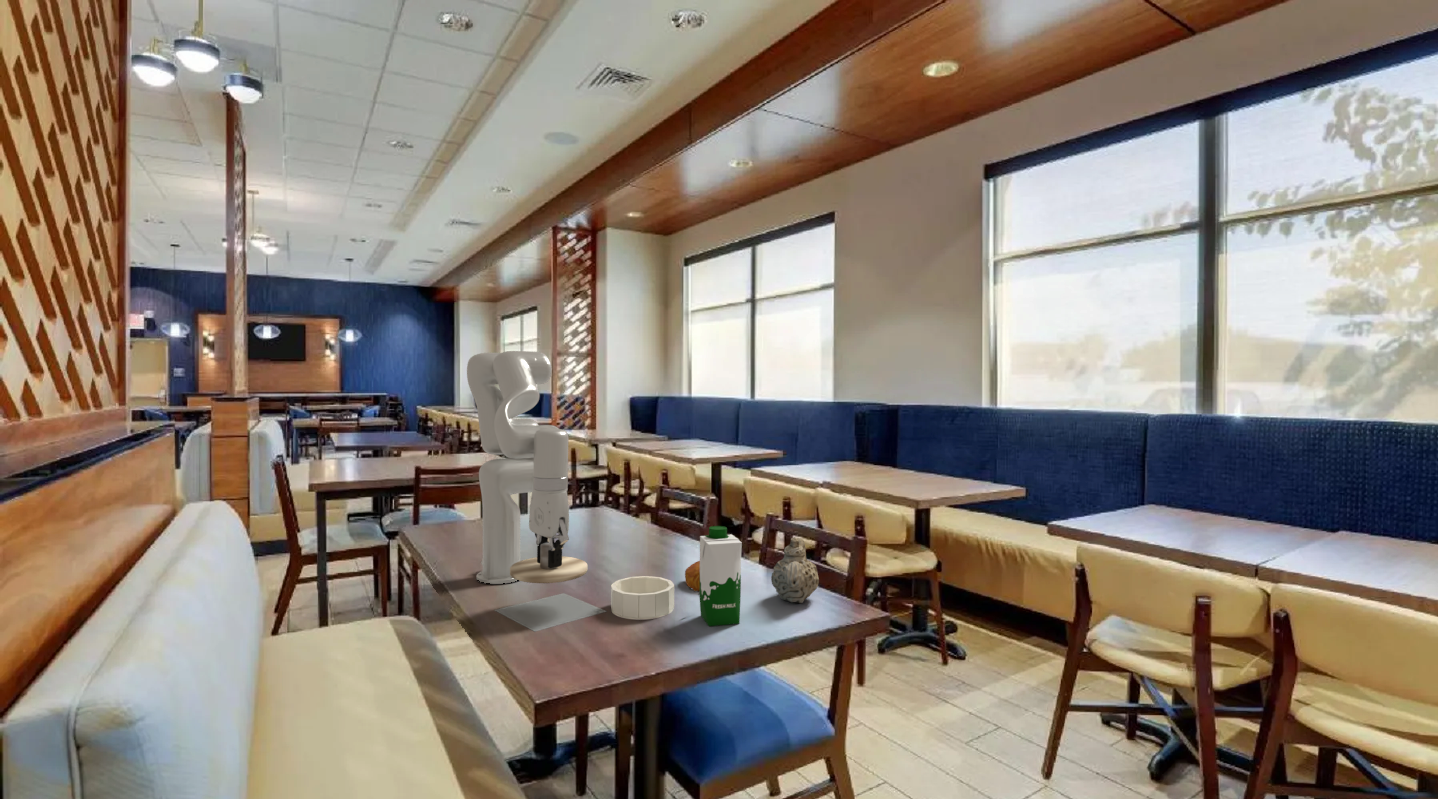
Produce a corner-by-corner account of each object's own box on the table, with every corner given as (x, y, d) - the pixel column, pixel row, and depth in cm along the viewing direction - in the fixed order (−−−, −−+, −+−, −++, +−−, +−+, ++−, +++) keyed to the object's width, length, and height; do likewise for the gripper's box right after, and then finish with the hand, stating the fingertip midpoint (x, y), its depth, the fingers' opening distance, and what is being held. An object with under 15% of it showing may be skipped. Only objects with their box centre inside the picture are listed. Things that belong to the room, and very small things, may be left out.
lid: (496, 569, 154) (496, 543, 154) (561, 556, 166) (562, 531, 166) (534, 588, 142) (534, 560, 142) (602, 572, 154) (602, 546, 154)
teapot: (816, 615, 154) (817, 549, 154) (765, 611, 156) (766, 546, 156) (821, 587, 175) (822, 529, 174) (776, 584, 177) (777, 526, 177)
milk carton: (733, 611, 156) (733, 524, 155) (744, 625, 147) (745, 533, 147) (695, 614, 154) (696, 526, 153) (705, 628, 145) (706, 535, 144)
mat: (494, 612, 154) (494, 610, 154) (563, 595, 166) (563, 593, 166) (534, 634, 141) (535, 631, 141) (606, 613, 153) (606, 611, 153)
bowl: (599, 610, 156) (599, 584, 155) (647, 597, 165) (647, 572, 165) (637, 626, 146) (637, 599, 145) (685, 611, 155) (686, 585, 155)
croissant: (741, 586, 183) (742, 555, 184) (737, 596, 167) (738, 563, 168) (688, 582, 184) (689, 552, 185) (679, 592, 169) (680, 559, 170)
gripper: (516, 480, 156) (515, 559, 157) (555, 491, 144) (554, 576, 145) (546, 477, 161) (544, 553, 162) (585, 487, 150) (584, 570, 151)
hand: (549, 563), depth 154 cm, fingers closed on lid, 4 cm apart
